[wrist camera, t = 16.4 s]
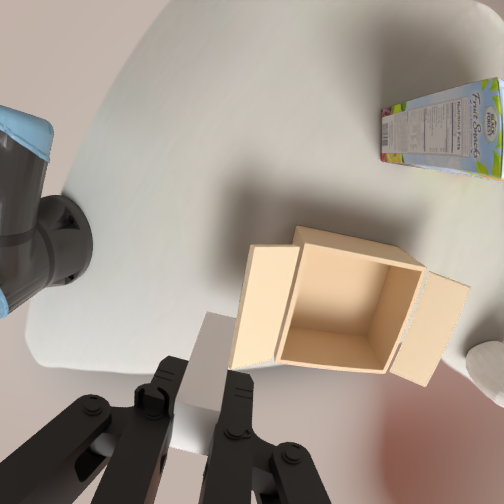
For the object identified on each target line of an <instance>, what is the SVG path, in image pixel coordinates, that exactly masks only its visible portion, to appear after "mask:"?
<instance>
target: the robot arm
mask: <svg viewBox="0 0 504 504" xmlns="http://www.w3.org/2000/svg"><path fill="white" fill-rule="evenodd" d="M53 136H54V131H53V127H52V125H51V124H50V123H49V122H48V121H47V120H44V119H41V118H39V117H36V116H33V115H30V114H27V113H24V112H21V111H18V110H14V109H11V108H8V107H5V106H2V105H0V318H4V317H6V316H7V315H8V314H9V313H10V312H12V311H13V310H15V309H16V308H17V307H18V306H20V305H21V304H22V303H24V302H25V301H27V300H28V299H29V298H31V297H32V296H34V295H35V294H36V293H38V292H39V291H41V290H42V289H43V288H45V287H54V286H62V285H67V284H69V283H72V282H73V281H75V280H76V279H78V278H79V277H80V276H81V275H83V273H84V272H85V271H86V270H87V268H88V266H89V264H90V261H91V257H92V250H93V242H92V234H91V230H90V227H89V224H88V221H87V219H86V217H85V216H84V214H83V212H82V211H81V210H80V208H79V207H78V206H77V205H76V204H75V203H74V202H73V201H71V200H70V199H68V198H66V197H63V196H60V195H51V196H46V197H43V198H41V193H42V188H43V183H44V178H45V174H46V170H47V165H48V163H49V161H50V158H49V155H50V150H51V145H52V141H53ZM235 323H236V318H232V317H228V316H224V315H220V314H215V313H211V312H207V313H206V315H205V318H204V321H203V324H202V326H201V329H200V332H199V335H198V337H197V340H196V343H195V346H194V348H193V351H192V354H191V357H190V360H189V361H187V360H183V359H179V358H176V357H172V356H167V357H166V358H165V359H163V360H162V361H161V362H160V364H159V366H158V368H157V370H156V372H155V374H154V377H153V379H152V381H151V383H148V384H143V385H141V386H138V388H137V389H136V390H135V396H134V399H135V400H134V403H135V404H134V406H132V407H111V406H110V405H109V402H108V401H107V400H105V399H104V398H102V397H100V396H98V395H92V394H90V395H84V396H81V397H80V398H78V399H77V400H76V401H74V402H73V403H72V404H71V405H70V406H68V407H67V408H66V409H65V410H64V411H62V412H61V413H60V414H59V415H57V416H56V417H55V418H54V419H53V420H52V421H50V422H49V423H48V424H47V425H45V426H44V427H43V428H42V429H41V430H39V431H38V432H37V433H36V434H35V435H33V436H32V437H31V438H30V439H29V440H27V441H26V442H25V443H24V444H22V445H21V446H20V447H19V448H18V449H16V450H15V451H14V452H13V453H12V454H10V455H9V456H8V457H7V458H6V459H4V460H3V461H2V462H1V463H0V504H72V503H73V502H74V501H75V500H76V499H77V497H78V496H79V495H80V494H81V493H82V492H83V491H84V490H85V489H86V488H87V486H88V485H89V484H90V483H91V482H92V481H93V480H94V479H95V477H96V476H97V475H98V474H99V473H100V472H101V471H102V469H103V468H104V467H105V466H106V465H107V464H108V465H107V467H106V469H105V472H104V474H103V476H102V478H101V481H100V483H99V485H98V488H97V490H96V492H95V494H94V497H93V499H92V501H91V504H154V500H155V497H156V493H157V490H158V486H159V483H160V479H161V476H162V473H163V469H164V466H165V463H166V459H167V452H168V448H169V445H170V447H174V448H178V449H181V450H185V451H189V452H194V453H198V454H202V455H207V456H208V458H207V462H206V466H205V470H204V474H203V482H202V487H201V493H200V498H199V503H198V504H251V490H253V491H254V493H255V496H256V501H257V504H331V501H330V499H329V497H328V495H327V492H326V490H325V488H324V486H323V483H322V481H321V479H320V476H319V474H318V472H317V470H316V467H315V465H314V462H313V460H312V458H311V455H310V454H309V452H308V451H307V449H306V448H304V447H303V446H301V445H299V444H297V443H294V442H285V443H281V444H279V445H278V446H275V445H273V444H270V443H268V442H266V441H264V440H262V439H260V438H259V437H258V436H257V435H256V434H255V433H254V431H253V429H252V408H253V388H254V382H253V380H252V378H251V376H250V375H249V374H245V373H240V372H236V371H232V370H228V364H229V358H230V352H231V347H232V341H233V335H234V329H235Z"/></svg>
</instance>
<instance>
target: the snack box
mask: <svg viewBox="0 0 504 504" xmlns="http://www.w3.org/2000/svg"><path fill="white" fill-rule="evenodd" d="M381 112H382V159H381V161H382V162H387V163H393V164H400V165H405V166H412V167H418V168H424V169H430V170H437V171H443V172H449V173H454V174H460V175H466V176H472V177H477V178H482V179H487V180H493V181H498V182H503V183H504V80H502V79H500V78H498V77H496V78H491V79H486V80H482V81H478V82H474V83H470V84H466V85H462V86H459V87H455V88H451V89H447V90H443V91H440V92H436V93H433V94H430V95H426V96H423V97H420V98H416V99H413V100H410V101H406V102H403V103H400V104H397V105H394V106H391V107H387V108H385V109H382V110H381Z"/></svg>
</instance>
